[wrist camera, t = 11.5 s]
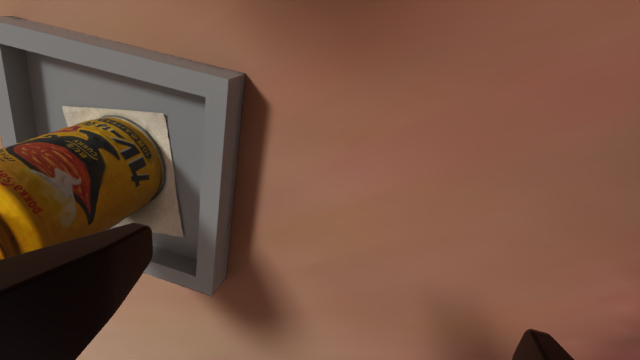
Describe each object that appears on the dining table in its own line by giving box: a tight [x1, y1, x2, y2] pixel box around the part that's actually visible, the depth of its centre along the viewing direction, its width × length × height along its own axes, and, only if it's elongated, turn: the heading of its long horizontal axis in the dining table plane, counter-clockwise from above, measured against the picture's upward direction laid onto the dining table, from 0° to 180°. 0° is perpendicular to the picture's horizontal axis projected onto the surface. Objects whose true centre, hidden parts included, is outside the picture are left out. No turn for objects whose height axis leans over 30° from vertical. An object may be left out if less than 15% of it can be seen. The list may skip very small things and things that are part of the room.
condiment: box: [0, 106, 183, 260], centre depth 20 cm, size 7×8×12 cm
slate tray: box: [0, 16, 245, 296], centre depth 25 cm, size 15×14×2 cm
